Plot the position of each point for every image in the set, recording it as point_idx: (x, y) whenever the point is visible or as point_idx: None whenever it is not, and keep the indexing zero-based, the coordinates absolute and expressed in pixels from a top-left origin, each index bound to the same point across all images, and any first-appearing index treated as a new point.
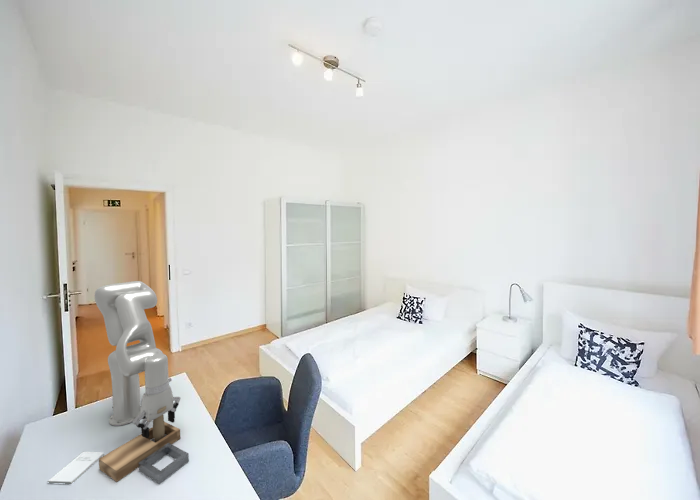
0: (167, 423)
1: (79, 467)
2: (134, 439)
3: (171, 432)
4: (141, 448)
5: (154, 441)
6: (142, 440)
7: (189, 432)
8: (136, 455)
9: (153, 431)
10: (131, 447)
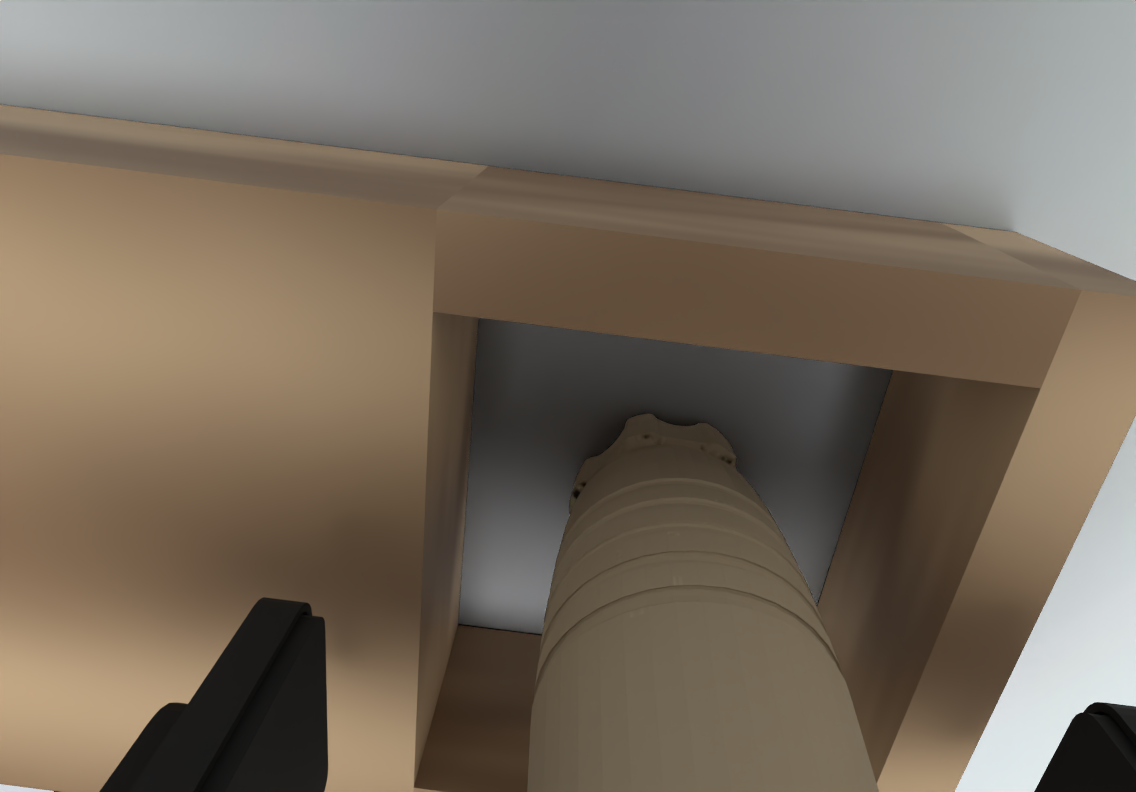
0: (1067, 529)
1: None
2: (224, 262)
3: (856, 665)
4: (172, 685)
5: (580, 491)
6: (319, 497)
7: (1011, 735)
8: (29, 748)
9: (541, 686)
10: (48, 472)
